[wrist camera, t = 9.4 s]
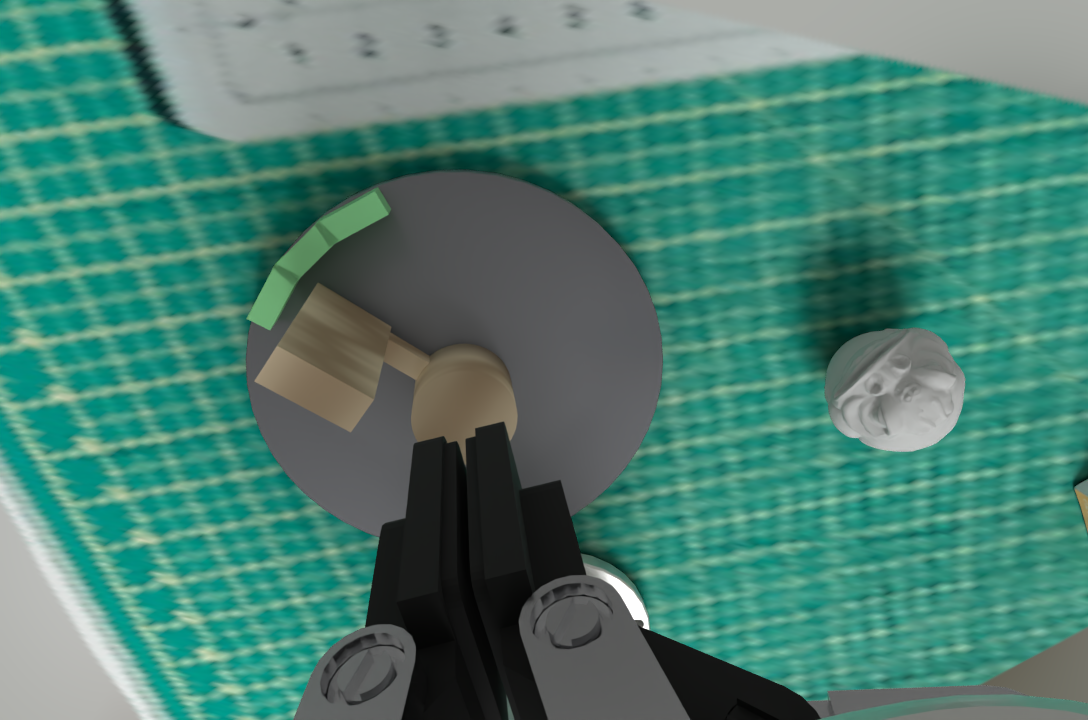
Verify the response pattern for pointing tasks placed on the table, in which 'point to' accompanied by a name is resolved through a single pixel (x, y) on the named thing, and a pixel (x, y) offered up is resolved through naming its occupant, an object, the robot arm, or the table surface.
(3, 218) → the table surface
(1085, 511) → the small box
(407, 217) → the dial face
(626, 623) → the robot arm
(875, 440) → the grey rounded lump
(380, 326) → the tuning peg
